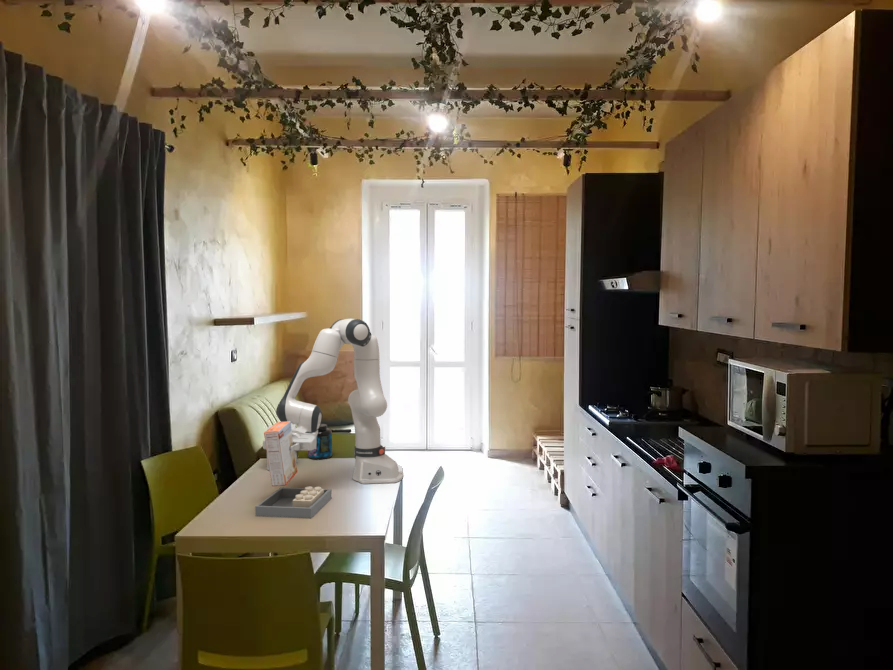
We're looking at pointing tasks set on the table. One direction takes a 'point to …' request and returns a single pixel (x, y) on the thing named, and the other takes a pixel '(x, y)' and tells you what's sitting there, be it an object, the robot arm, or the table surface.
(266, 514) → the tote
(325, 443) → the container
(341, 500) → the table surface
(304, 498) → the egg carton
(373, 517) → the table surface
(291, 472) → the cracker box
